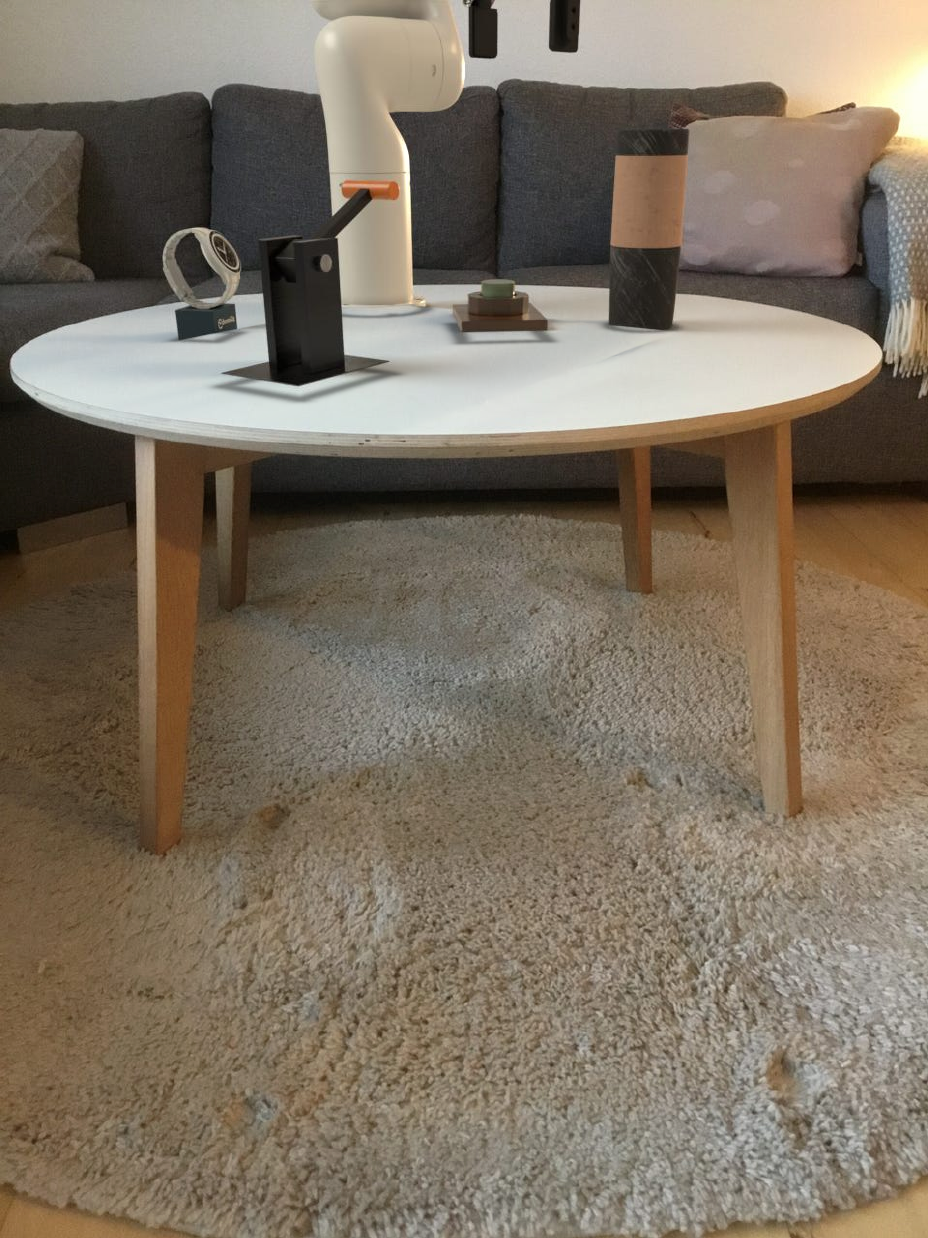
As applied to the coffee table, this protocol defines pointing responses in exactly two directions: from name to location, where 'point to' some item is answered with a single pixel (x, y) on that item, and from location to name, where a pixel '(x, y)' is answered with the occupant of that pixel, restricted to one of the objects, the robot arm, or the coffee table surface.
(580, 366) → the coffee table surface
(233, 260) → the watch
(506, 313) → the button block
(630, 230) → the travel mug
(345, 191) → the switch lever
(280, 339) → the switch bracket
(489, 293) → the warm button
